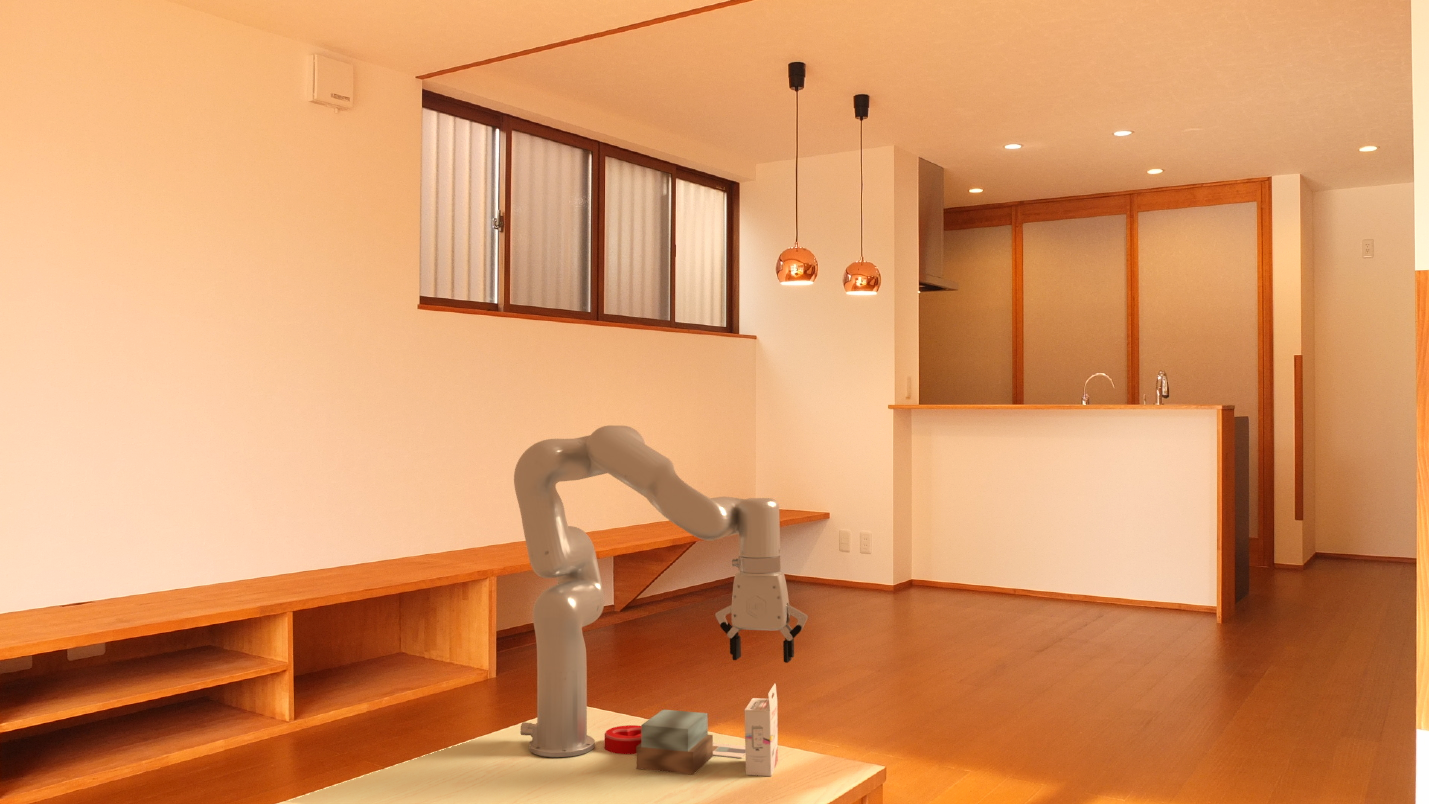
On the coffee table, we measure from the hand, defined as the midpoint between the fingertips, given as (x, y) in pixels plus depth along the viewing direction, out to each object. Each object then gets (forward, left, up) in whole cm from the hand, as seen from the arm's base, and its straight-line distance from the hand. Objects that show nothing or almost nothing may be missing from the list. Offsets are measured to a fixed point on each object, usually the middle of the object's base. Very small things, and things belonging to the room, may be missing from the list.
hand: (762, 660), depth 189 cm
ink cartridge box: (0, 0, -20) cm, 20 cm away
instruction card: (-10, +8, -20) cm, 24 cm away
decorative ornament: (-28, +5, -20) cm, 35 cm away
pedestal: (-16, -1, -20) cm, 26 cm away
